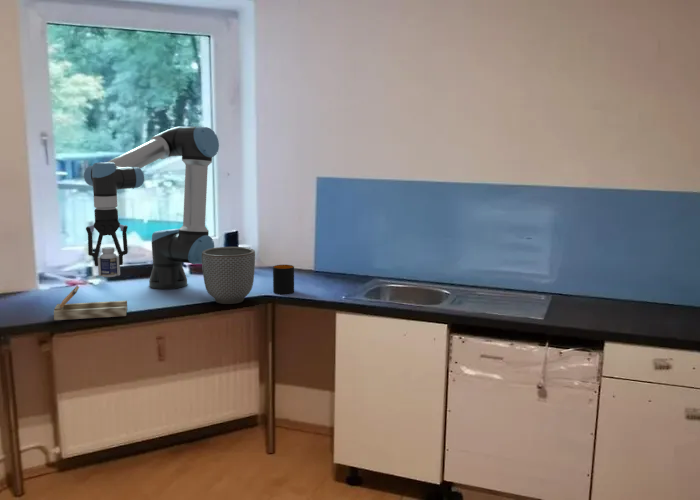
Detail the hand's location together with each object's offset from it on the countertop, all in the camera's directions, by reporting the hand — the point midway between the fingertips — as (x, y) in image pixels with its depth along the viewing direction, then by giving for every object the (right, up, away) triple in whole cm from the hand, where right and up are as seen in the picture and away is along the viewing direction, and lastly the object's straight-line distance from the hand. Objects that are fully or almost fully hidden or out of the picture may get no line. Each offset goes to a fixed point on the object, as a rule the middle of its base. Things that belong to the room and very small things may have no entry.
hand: (109, 274), depth 238 cm
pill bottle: (0, -1, 0) cm, 1 cm away
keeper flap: (-13, -8, -2) cm, 15 cm away
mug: (+56, -8, +37) cm, 68 cm away
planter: (+38, -11, +21) cm, 44 cm away
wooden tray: (-6, -14, +1) cm, 15 cm away
